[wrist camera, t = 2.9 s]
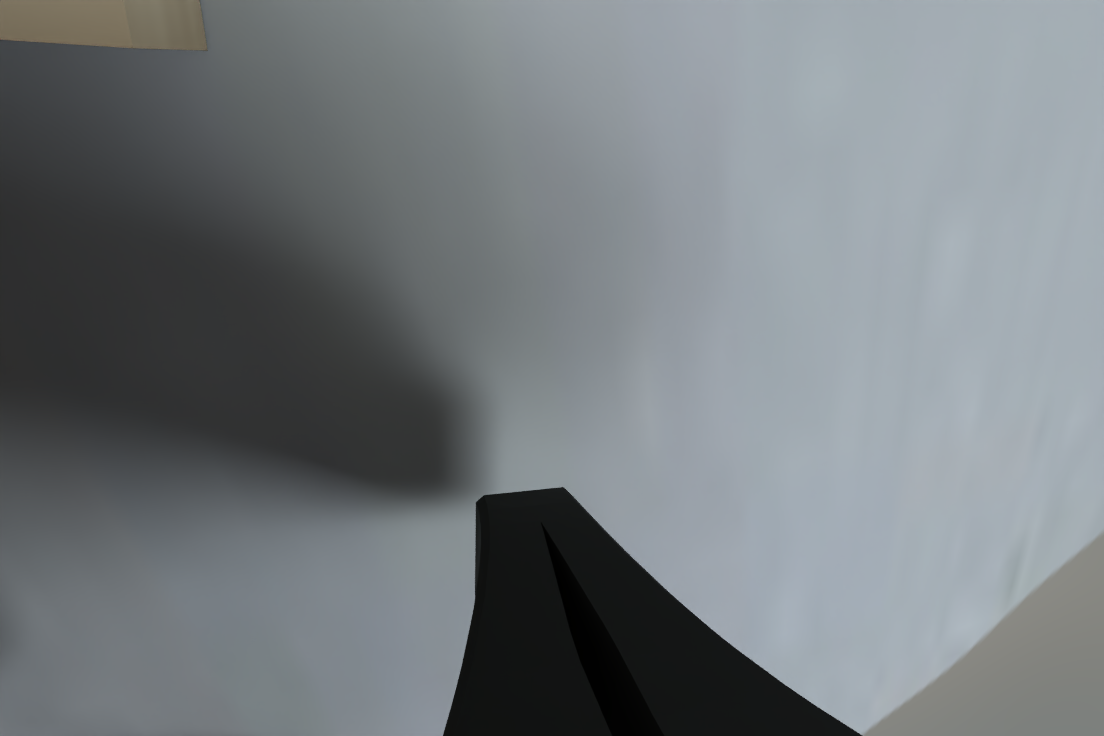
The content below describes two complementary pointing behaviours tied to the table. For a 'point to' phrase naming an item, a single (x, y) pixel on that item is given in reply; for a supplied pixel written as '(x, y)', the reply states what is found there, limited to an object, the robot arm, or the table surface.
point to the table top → (105, 23)
